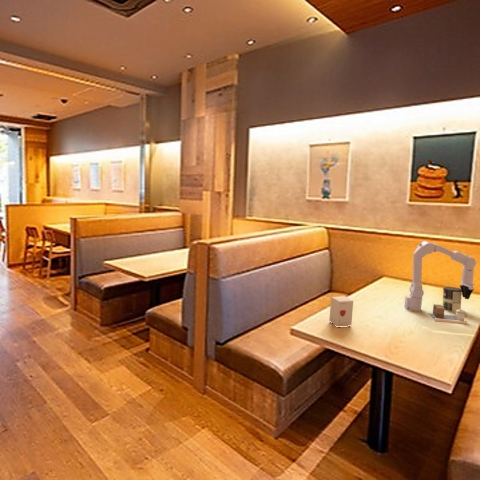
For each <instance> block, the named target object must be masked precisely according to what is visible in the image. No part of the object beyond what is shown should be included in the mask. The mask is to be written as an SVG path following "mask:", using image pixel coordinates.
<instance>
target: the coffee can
mask: <svg viewBox="0 0 480 480" xmlns="http://www.w3.org/2000/svg"><path fill="white" fill-rule="evenodd" d="M442 289H443V290H442V306H443V307H444V308H445V311H446V312H449V313H450V312H451V313H456V310H460V309H461V308H462V291H461V288H459V287H453V286H451V287H450V286H445V287H443V288H442ZM461 310H462V309H461Z"/></svg>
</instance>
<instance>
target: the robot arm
mask: <svg viewBox="0 0 480 480" xmlns="http://www.w3.org/2000/svg"><path fill="white" fill-rule="evenodd" d="M437 252H438V253H441V254H443V255H444V254H445V255H446V256H449V257H450V259H451V260H452V261H455V262H457V263H459V264H462V265H463V266H462V273H461V274H462V275H461V280H460V285H459V287H460V289H461V291H462V295H461V297H462V298H464V299H465V300H469V299H470V297H471V295H472V293H473V292H474V290H475V289H474V286H475V285H476V284H475V283H473V281H474V274H475V273H474V272H475V266H477V262H476V259H475V258H474V257H471V256H470V255H469V254H464V253H462V252H461V251H460V250H458V251H457V250H454V251H452V250H450V249H448V248H446V247H443V246H442V245H439V244H436V243H434V242H430V241H428V240H427V241H426V240H423V241H422V242H420V243H419V244H418V245H417V247H416V249H415V250H414V251H413V253H412V255H413V256H412V281H411V285H410V287H409V292H410V293H409V295H406V296H405V297H404V304H403V305H404V308H405V310H409V311H418V312H419V311H422V304H423V302H422V301H423V296H424V294H425V292H424V289H423V283H422V275H423V274H422V273H423V272H422V271H423V270H422V269H423V257H425V256H427V255H429V254H432V253H437Z"/></svg>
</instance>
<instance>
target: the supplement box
mask: <svg viewBox="0 0 480 480" xmlns="http://www.w3.org/2000/svg"><path fill="white" fill-rule="evenodd" d="M353 307H354V300H353V299H351V298H349V297H348V296H345V295H342V296H331V297H330V307H329V308H330V309H329V320H328V322H329V321H331V322H332V323H333V324H335V325H336V326H348V325H351V326H352V322H353V321H352V320H353V309H354V308H353ZM333 324H332V325H333ZM336 326H335V327H336Z"/></svg>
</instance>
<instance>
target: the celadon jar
mask: <svg viewBox="0 0 480 480" xmlns="http://www.w3.org/2000/svg"><path fill="white" fill-rule="evenodd" d="M465 315H466V311H465V310H463V309H460V310H456V312H455V316H456V317H455V320H459V321H465Z"/></svg>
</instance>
